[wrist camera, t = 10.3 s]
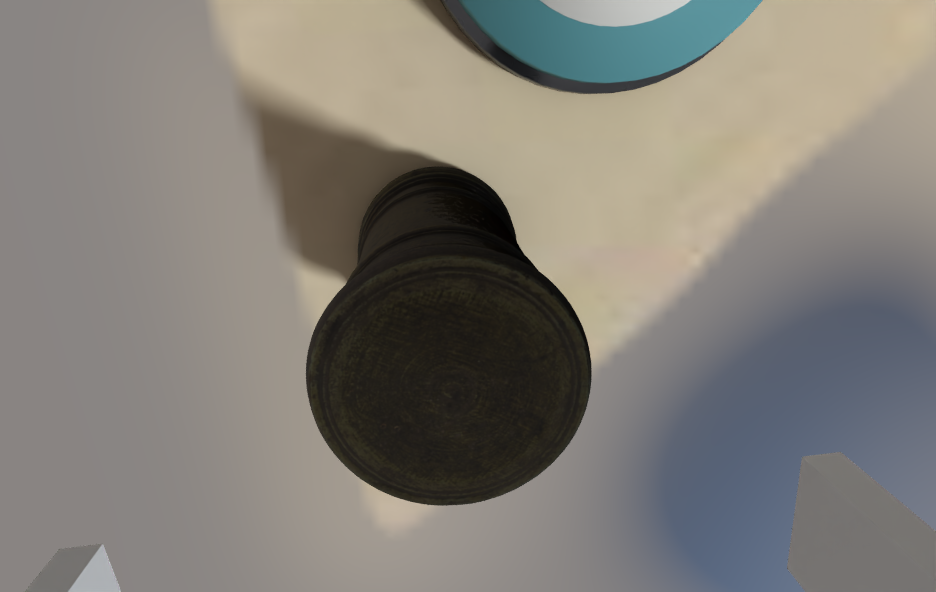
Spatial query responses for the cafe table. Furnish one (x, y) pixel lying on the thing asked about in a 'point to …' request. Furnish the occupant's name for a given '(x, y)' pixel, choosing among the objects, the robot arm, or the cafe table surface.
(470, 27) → the turntable base
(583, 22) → the turntable
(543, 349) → the container
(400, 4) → the cafe table surface
